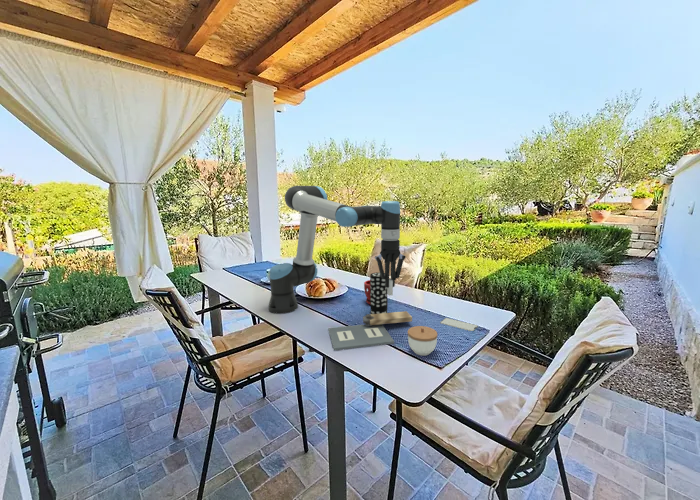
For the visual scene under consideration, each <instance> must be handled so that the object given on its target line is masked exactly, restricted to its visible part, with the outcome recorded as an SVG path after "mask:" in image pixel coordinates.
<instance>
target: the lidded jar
mask: <svg viewBox="0 0 700 500" xmlns="http://www.w3.org/2000/svg"><path fill="white" fill-rule="evenodd" d="M407 341H408V346H409V347H410V349H411V350H412V351H413V352H414V354H416V355H418V356H424V357H425V356H428V355H430V354H431V353H432V352H433V351H434V350H435V349H436V346H437V342H438V331H437V330H435V329H434V328H432V327H430V326H425V325H418V326H417V325H414V326H411V327H410V328H408V330H407Z"/></svg>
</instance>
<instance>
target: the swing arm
mask: <svg viewBox="0 0 700 500" xmlns="http://www.w3.org/2000/svg"><path fill="white" fill-rule="evenodd" d="M406 322H407V323H409V322H410V323H411V322H413V316H412V315H411V314H410V313H409V312H408V311H407V310H405V311H394V312H387V313H380V314H371V313H368V314H366V315H364V316H363V317H362V323H364V324H370V325H377V324H382V325H386V324H397V323H406Z"/></svg>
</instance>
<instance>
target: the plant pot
mask: <svg viewBox="0 0 700 500" xmlns="http://www.w3.org/2000/svg"><path fill="white" fill-rule="evenodd" d="M363 286H364V287H363V289H364V294H365V297H366V299H365V302H366V303H367V304H368V305H370V306H371V303H370V279H369V280H366V281H364V282H363Z"/></svg>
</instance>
